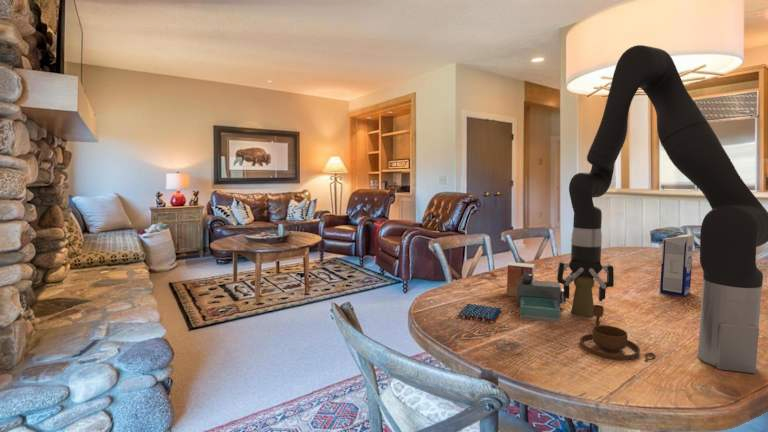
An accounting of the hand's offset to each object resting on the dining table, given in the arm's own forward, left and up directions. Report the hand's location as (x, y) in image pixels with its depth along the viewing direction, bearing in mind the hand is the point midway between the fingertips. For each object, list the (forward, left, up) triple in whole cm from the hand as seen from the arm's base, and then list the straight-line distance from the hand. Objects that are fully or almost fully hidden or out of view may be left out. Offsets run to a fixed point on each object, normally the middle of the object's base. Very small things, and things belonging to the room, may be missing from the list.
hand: (583, 299), depth 114 cm
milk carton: (+31, -32, -4) cm, 44 cm away
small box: (+13, +17, -4) cm, 22 cm away
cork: (0, 0, -4) cm, 4 cm away
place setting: (-21, -4, -5) cm, 22 cm away
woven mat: (-10, +28, -5) cm, 30 cm away
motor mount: (-2, +11, -4) cm, 12 cm away
